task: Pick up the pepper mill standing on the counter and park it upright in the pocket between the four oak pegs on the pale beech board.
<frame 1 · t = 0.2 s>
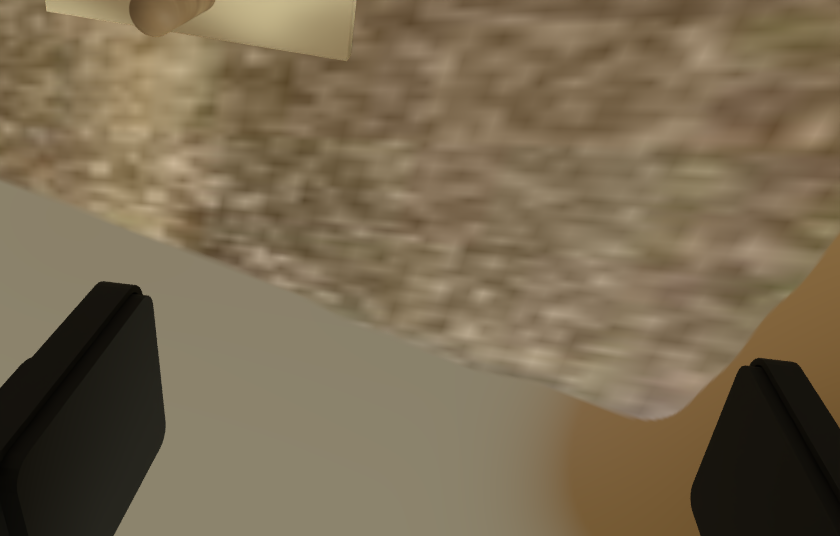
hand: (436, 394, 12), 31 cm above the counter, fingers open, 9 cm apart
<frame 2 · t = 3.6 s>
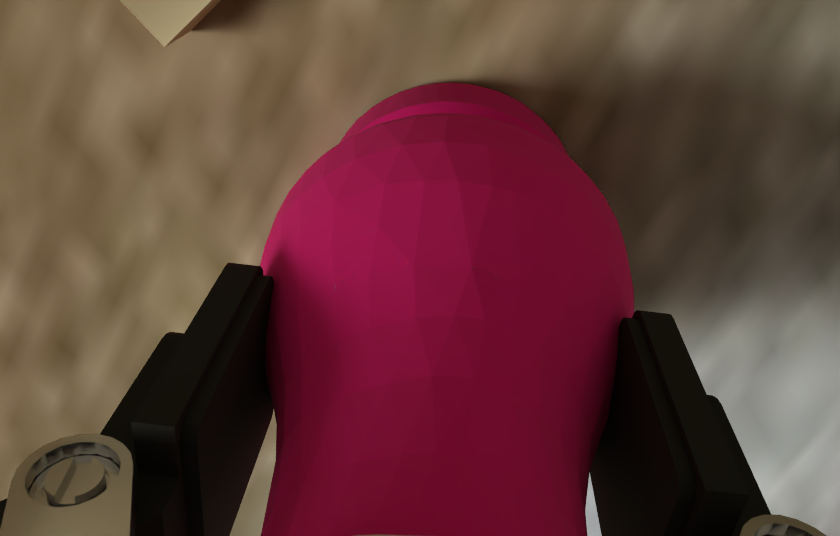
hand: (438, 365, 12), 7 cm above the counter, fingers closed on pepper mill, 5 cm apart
pepper mill: (450, 201, 18), on the counter, touching gripper
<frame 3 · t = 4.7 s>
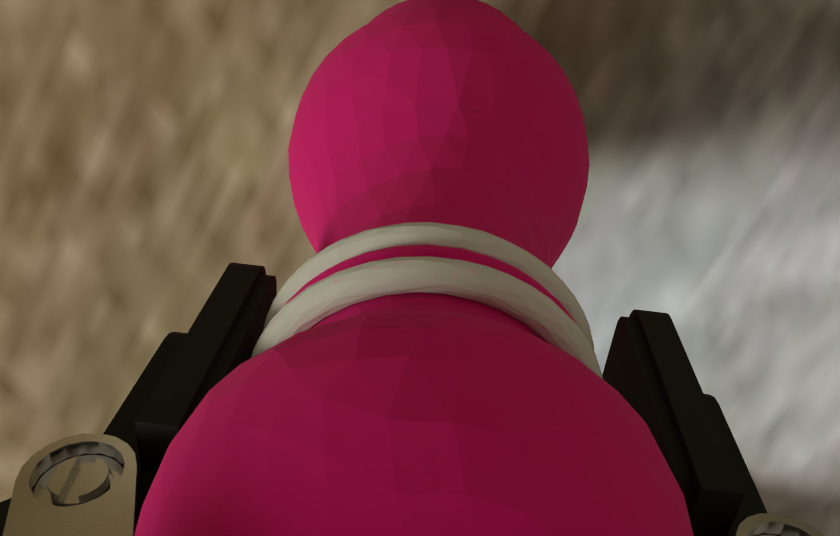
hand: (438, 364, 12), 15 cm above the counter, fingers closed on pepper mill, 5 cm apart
pepper mill: (441, 101, 22), point 3 cm above the counter, touching gripper
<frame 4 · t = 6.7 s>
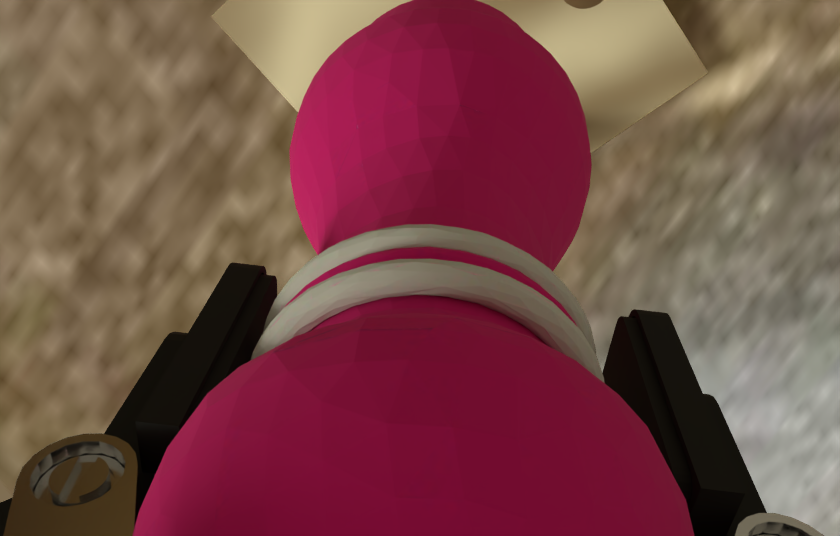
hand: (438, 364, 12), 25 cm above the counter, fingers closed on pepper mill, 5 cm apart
pepper mill: (443, 102, 22), point 14 cm above the counter, touching gripper
peg board: (459, 37, 34), on the counter
when the fingers open (13 cm above the counter, at t = 8.7 s): pepper mill stays where it is, resting on peg board.
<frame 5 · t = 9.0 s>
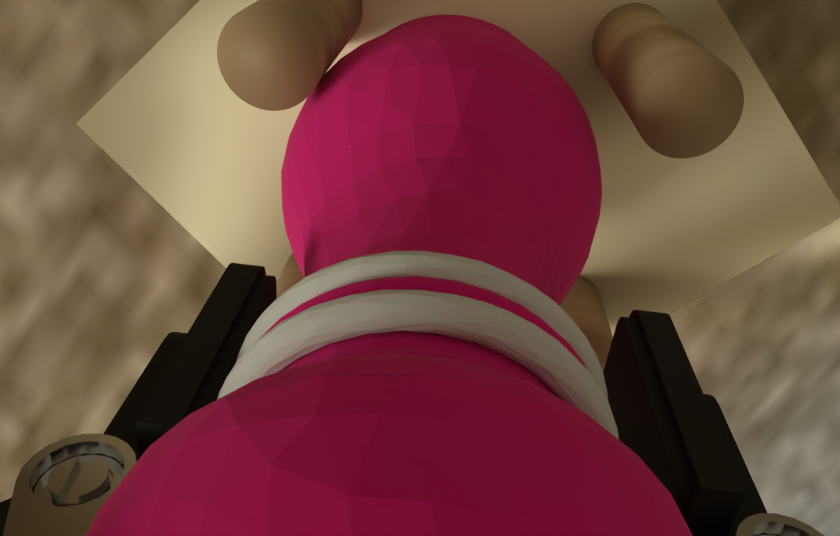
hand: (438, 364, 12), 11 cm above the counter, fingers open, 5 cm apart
pepper mill: (447, 125, 21), point 1 cm above the counter, touching gripper, peg board
peg board: (459, 151, 22), on the counter
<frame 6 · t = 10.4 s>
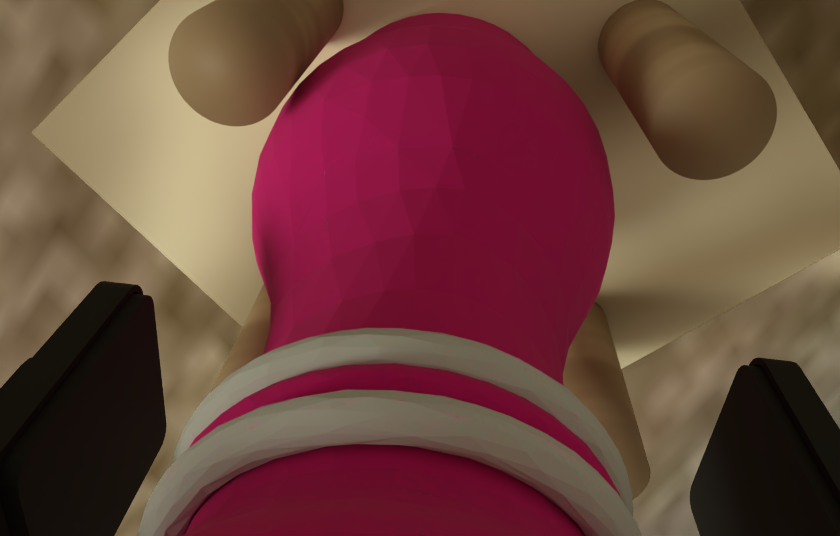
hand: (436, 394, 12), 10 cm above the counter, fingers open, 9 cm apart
pepper mill: (441, 134, 19), point 1 cm above the counter, touching peg board
peg board: (452, 160, 21), on the counter
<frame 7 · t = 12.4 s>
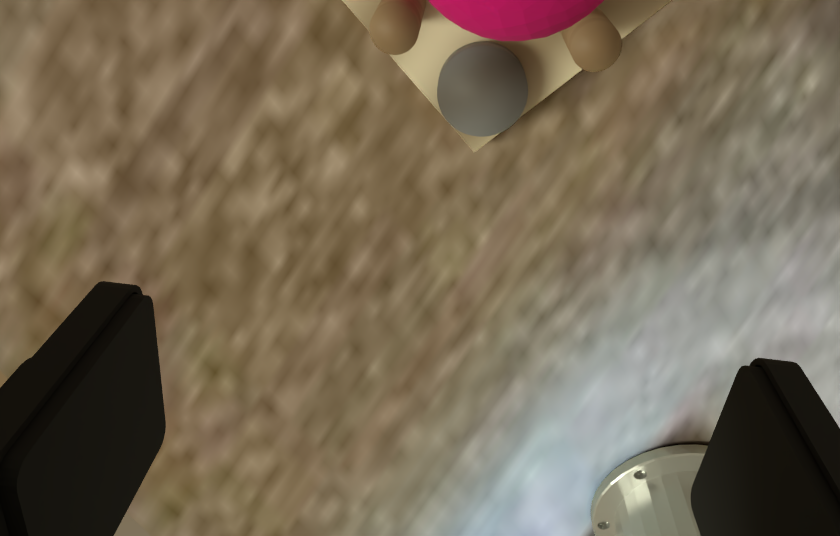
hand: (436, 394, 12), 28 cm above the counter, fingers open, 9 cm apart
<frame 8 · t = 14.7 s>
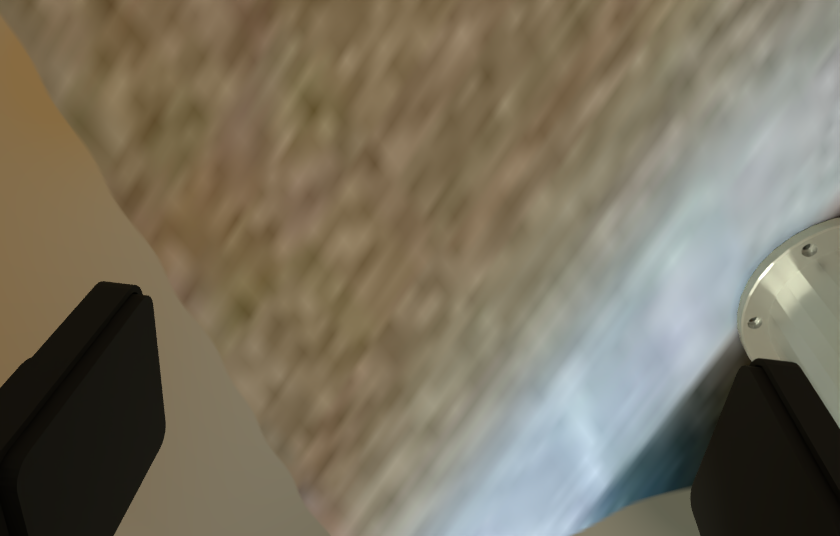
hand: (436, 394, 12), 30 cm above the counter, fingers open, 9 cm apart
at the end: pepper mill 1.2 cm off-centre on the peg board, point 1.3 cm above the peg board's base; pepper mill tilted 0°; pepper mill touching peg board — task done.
